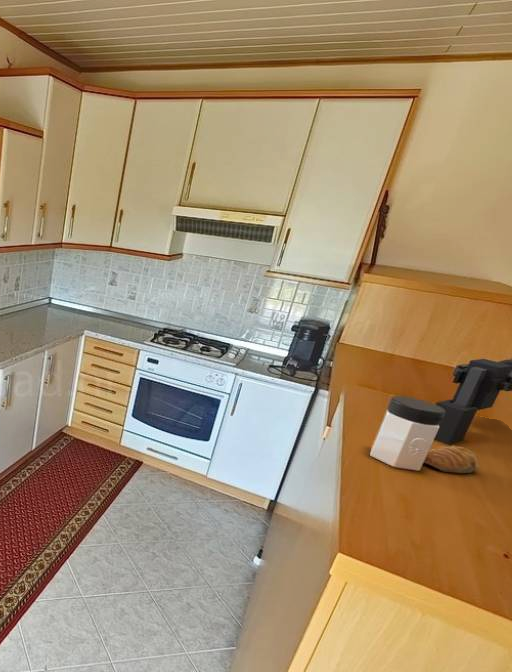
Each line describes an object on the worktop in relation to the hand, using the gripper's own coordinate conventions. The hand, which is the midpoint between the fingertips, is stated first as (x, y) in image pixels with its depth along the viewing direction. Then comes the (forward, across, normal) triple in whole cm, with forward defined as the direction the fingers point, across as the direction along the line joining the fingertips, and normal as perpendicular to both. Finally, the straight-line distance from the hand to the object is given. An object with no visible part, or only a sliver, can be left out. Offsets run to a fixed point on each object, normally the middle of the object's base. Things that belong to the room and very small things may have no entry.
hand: (473, 381), depth 107 cm
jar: (+30, -2, -13) cm, 33 cm away
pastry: (+21, -8, -13) cm, 26 cm away
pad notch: (+3, 0, -13) cm, 14 cm away
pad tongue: (-4, 0, -6) cm, 7 cm away
